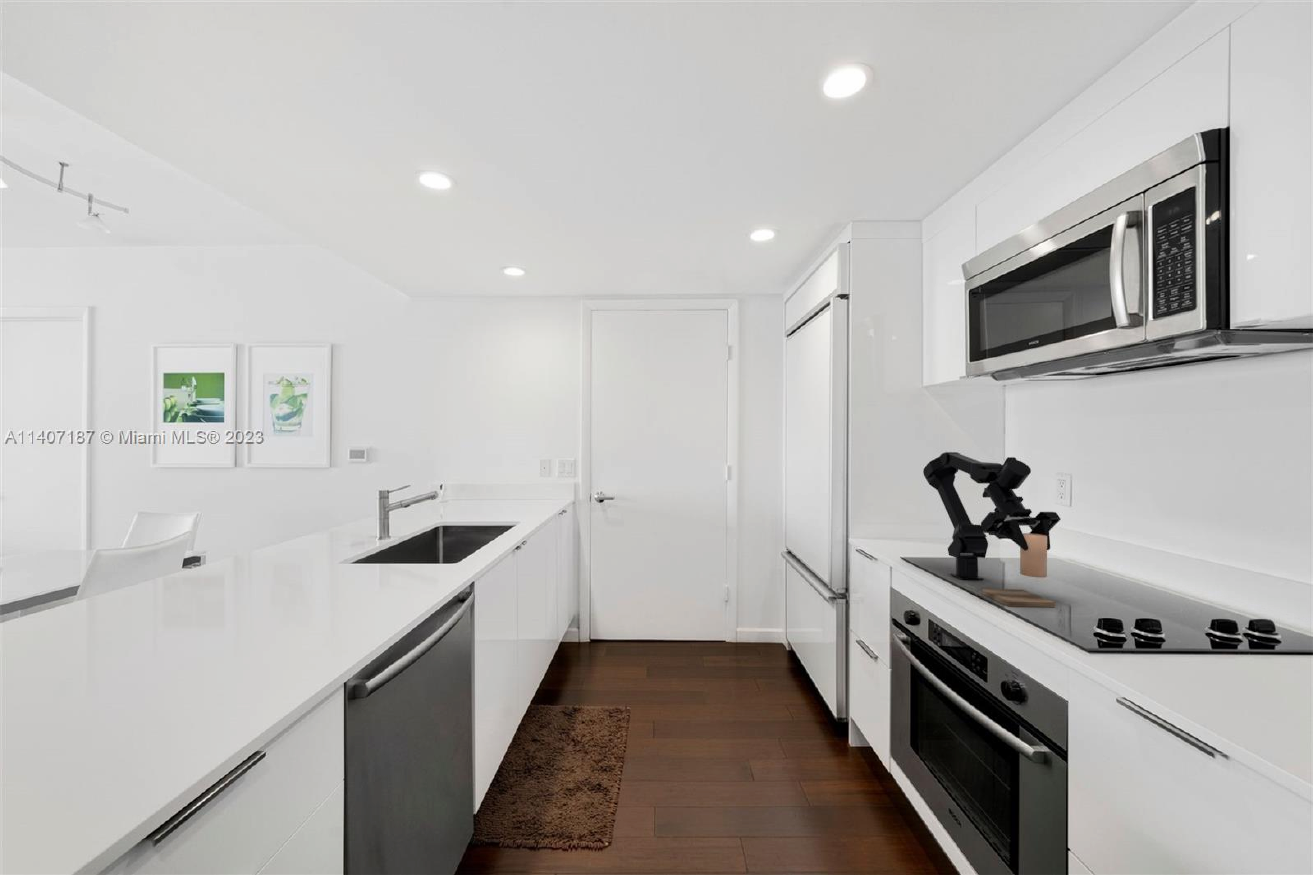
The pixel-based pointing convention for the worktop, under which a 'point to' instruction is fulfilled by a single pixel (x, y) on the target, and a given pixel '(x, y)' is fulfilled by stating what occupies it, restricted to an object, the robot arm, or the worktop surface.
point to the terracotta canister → (1034, 556)
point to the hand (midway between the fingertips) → (1037, 549)
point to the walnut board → (1017, 598)
